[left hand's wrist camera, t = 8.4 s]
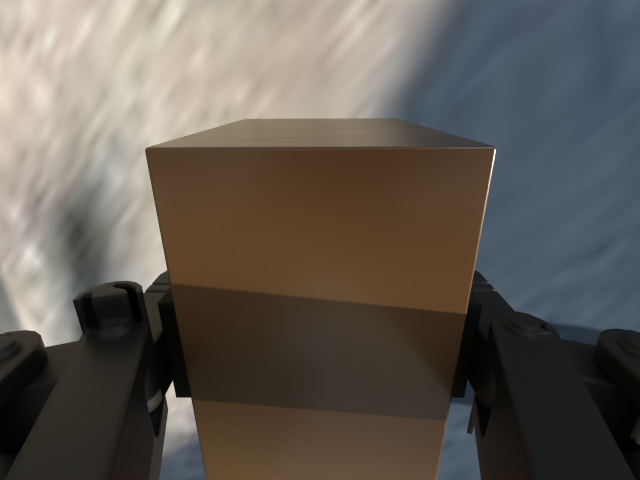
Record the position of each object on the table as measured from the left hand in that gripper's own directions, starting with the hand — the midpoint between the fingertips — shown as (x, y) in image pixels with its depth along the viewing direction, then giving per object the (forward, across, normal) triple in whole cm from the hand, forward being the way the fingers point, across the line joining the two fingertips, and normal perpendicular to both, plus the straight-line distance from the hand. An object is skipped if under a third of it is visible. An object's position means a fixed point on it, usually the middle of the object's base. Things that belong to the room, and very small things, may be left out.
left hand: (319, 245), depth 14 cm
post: (+1, 0, -31) cm, 31 cm away
